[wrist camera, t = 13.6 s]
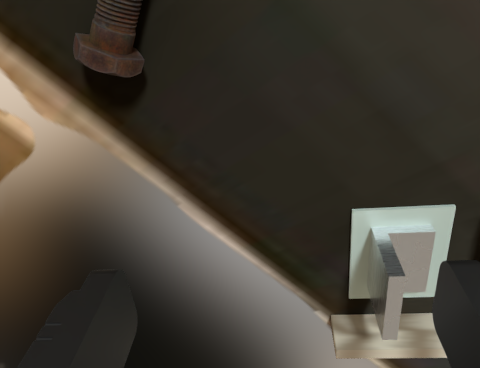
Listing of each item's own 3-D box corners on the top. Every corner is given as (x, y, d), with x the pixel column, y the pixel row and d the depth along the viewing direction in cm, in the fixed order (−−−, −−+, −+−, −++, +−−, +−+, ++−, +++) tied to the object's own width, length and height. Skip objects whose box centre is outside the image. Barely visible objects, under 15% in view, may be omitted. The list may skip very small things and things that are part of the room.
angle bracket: (371, 226, 42) (389, 276, 36) (431, 224, 42) (461, 275, 35) (366, 285, 46) (382, 339, 40) (422, 284, 45) (447, 339, 39)
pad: (348, 296, 48) (349, 298, 47) (351, 209, 42) (352, 211, 42) (438, 294, 47) (439, 296, 46) (454, 204, 41) (456, 206, 40)
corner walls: (330, 323, 50) (336, 358, 46) (331, 193, 41) (338, 221, 37) (481, 320, 48) (502, 357, 44) (516, 184, 39) (547, 212, 35)
